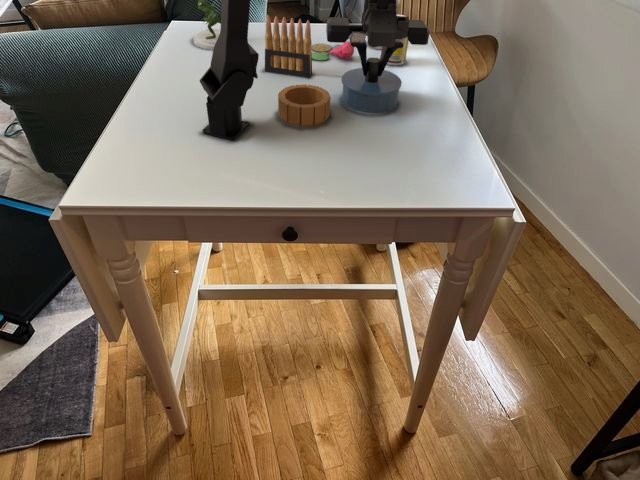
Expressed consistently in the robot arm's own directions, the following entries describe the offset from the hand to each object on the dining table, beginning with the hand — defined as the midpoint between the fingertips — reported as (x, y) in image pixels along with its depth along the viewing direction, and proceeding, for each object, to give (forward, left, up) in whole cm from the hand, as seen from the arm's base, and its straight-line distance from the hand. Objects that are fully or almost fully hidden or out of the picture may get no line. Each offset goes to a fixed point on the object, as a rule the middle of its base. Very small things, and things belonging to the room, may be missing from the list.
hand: (371, 75), depth 96 cm
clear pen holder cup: (+32, +7, -6) cm, 33 cm away
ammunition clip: (+6, +21, -6) cm, 23 cm away
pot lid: (0, 0, -1) cm, 1 cm away
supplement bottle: (+23, +1, -6) cm, 24 cm away
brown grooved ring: (-11, +10, -6) cm, 16 cm away
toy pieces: (+21, +16, -6) cm, 27 cm away
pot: (0, 0, -6) cm, 6 cm away
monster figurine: (+16, +45, -6) cm, 48 cm away
